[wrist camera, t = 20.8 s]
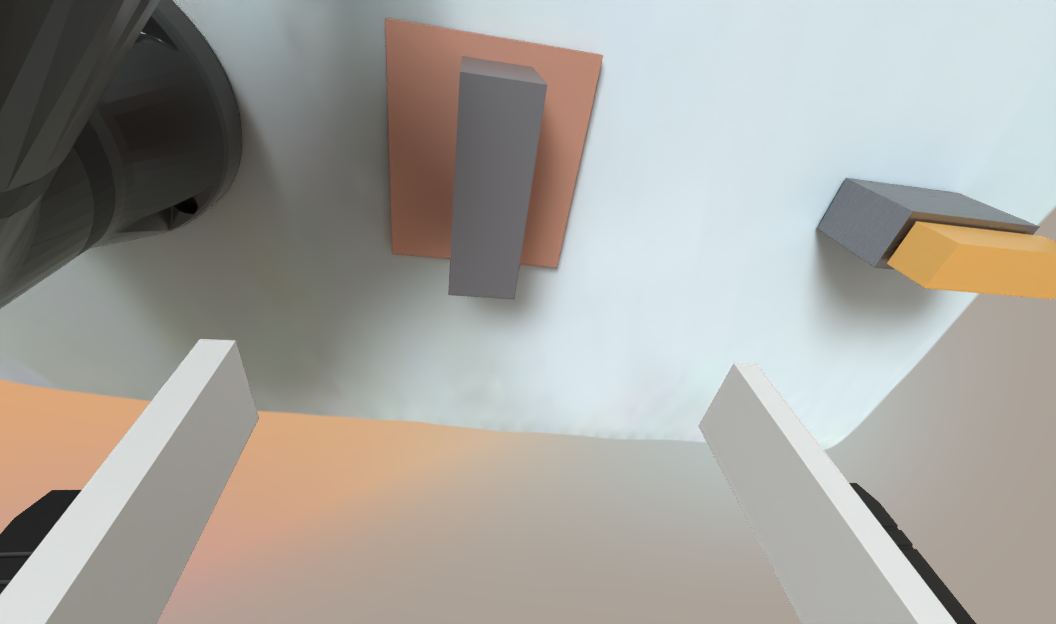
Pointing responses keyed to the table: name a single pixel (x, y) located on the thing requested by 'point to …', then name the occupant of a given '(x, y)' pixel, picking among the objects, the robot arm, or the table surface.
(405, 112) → the mat
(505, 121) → the tall gray pillar
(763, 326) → the table surface
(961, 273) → the orange rectangular beam
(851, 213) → the gray rectangular box
